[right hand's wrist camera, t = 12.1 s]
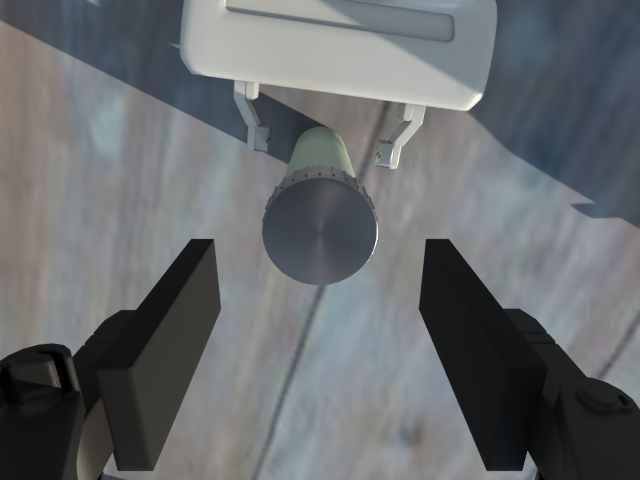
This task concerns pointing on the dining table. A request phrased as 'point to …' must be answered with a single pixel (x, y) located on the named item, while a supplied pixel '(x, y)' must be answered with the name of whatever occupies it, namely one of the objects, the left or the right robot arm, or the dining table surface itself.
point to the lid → (319, 226)
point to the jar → (319, 151)
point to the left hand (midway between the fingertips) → (322, 158)
